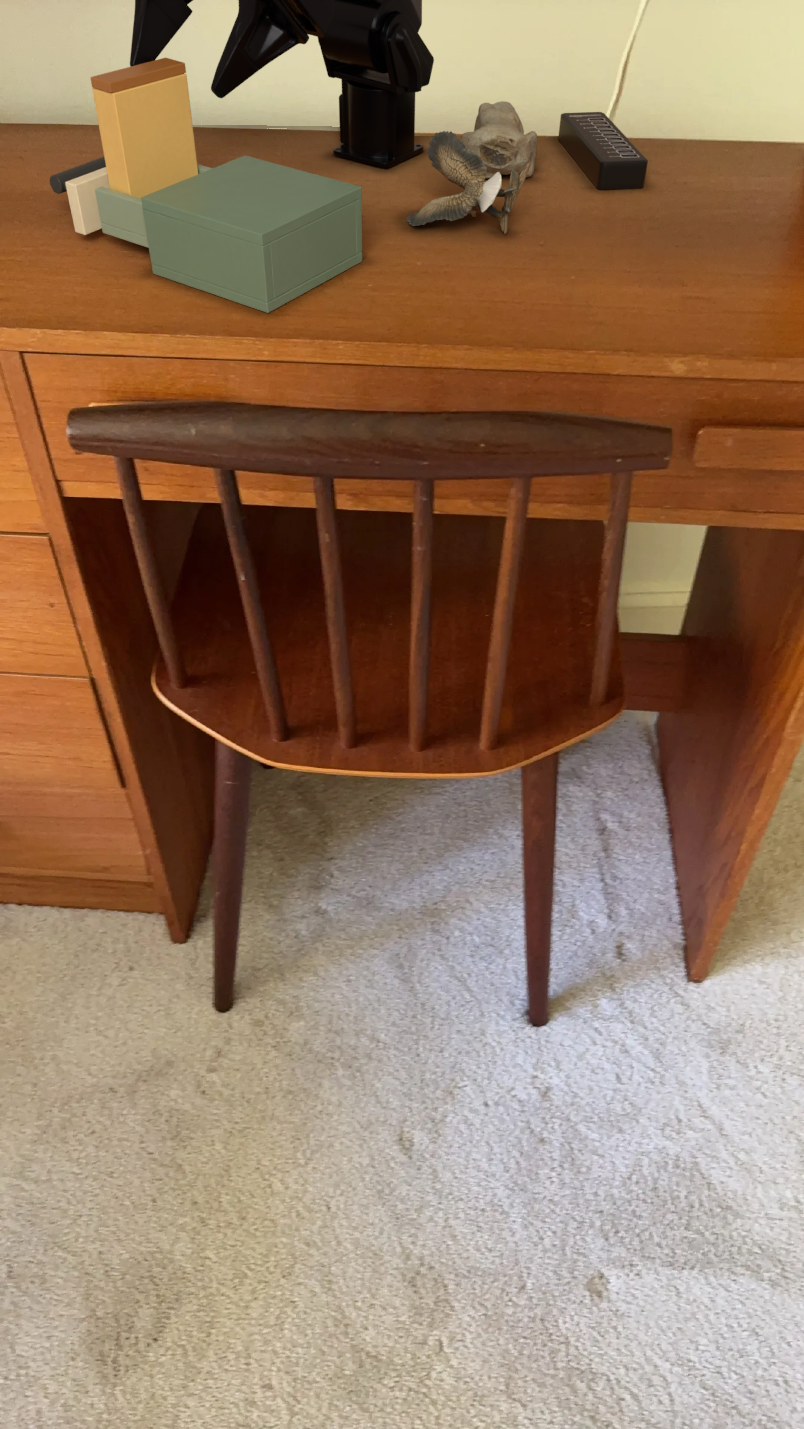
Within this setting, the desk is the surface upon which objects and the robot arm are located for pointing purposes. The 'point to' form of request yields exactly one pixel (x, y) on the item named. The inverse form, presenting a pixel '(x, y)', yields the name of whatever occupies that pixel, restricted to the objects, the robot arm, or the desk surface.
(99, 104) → the tan flat block
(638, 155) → the multiport hub
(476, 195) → the eagle figurine
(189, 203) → the cabinet
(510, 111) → the sculpture
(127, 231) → the drawer
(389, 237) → the desk surface
